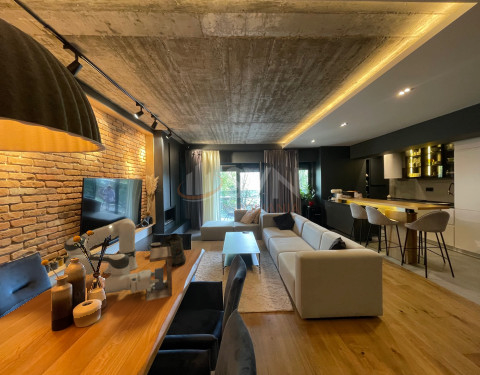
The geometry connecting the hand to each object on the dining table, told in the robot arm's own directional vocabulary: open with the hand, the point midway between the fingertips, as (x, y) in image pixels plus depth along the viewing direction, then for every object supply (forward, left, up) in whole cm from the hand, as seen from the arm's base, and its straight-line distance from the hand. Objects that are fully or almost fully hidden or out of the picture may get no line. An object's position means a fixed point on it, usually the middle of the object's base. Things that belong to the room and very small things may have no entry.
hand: (158, 276), depth 126 cm
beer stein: (+6, +42, -9) cm, 43 cm away
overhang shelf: (0, 0, -9) cm, 9 cm away
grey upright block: (0, 0, -8) cm, 8 cm away
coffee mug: (-15, +71, -9) cm, 73 cm away
